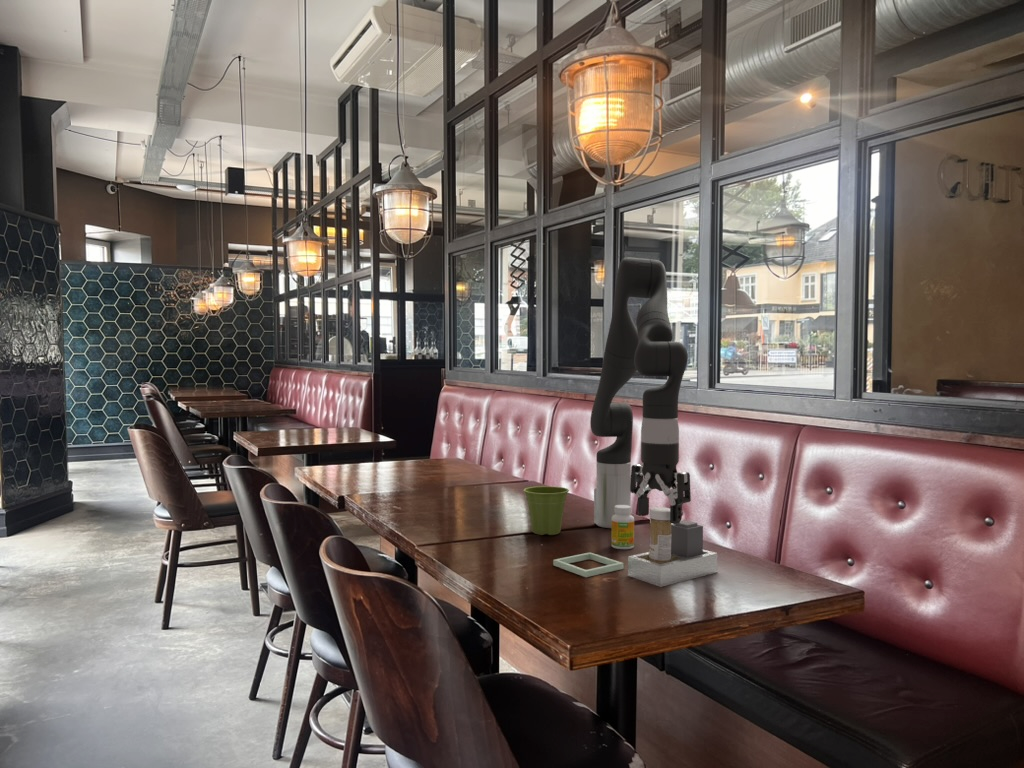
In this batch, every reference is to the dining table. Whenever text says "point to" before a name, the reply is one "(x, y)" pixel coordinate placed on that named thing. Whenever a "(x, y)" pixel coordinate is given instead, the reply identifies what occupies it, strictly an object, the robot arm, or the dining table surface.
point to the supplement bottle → (622, 528)
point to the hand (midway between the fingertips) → (659, 519)
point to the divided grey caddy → (671, 568)
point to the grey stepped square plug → (687, 539)
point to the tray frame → (610, 566)
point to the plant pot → (546, 508)
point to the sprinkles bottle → (660, 535)
